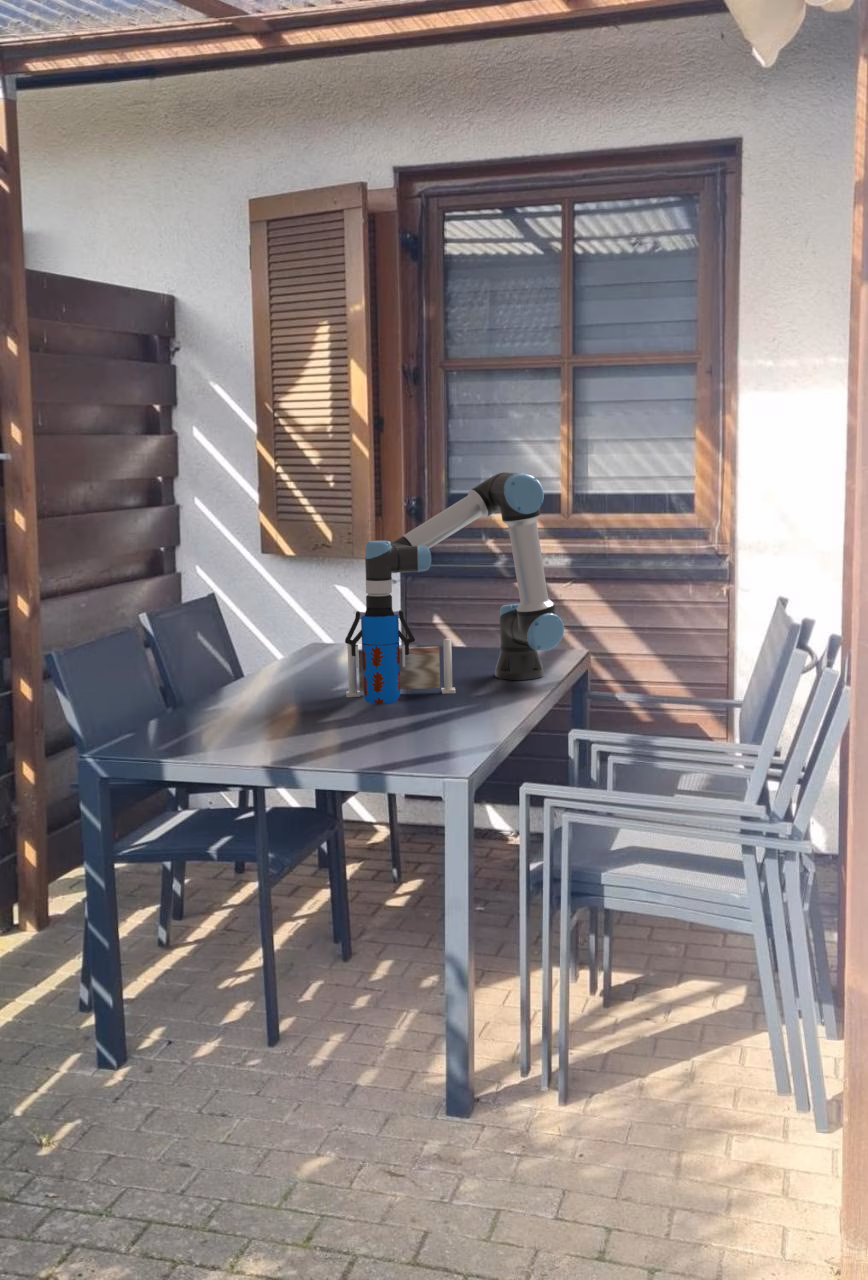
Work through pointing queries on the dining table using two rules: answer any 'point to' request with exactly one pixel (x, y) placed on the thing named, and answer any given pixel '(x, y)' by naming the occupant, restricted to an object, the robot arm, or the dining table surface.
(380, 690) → the thermos
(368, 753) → the dining table surface
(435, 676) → the gate
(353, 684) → the gate posts
